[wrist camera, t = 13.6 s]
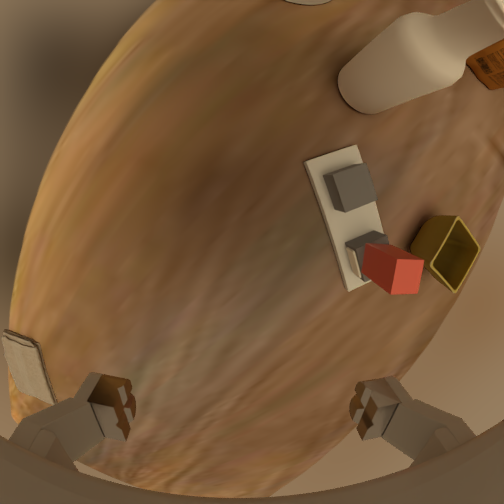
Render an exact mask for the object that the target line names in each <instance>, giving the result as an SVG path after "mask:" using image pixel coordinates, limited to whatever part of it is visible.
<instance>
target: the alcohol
mask: <svg viewBox="0 0 504 504" xmlns="http://www.w3.org/2000/svg"><path fill="white" fill-rule="evenodd" d="M502 39H504V0H472V1H469V2H467V3H464V4H462V5H460V6H458V7H455V8H453V9H451V10H449V11H447V12H444V13H442V14H440V15H436V16H433V15H429V14H425V13H419V12H413V13H410V14H407V15H404V16H401V17H399V18H398V19H397V20H395V21H394V22H393V23H392V24H391V25H390V26H388V27H387V28H386V29H385V30H384V31H383V32H381V33H380V34H379V35H378V36H377V37H376V38H375V39H373V40H372V41H371V42H370V43H369V44H368V45H367V46H366V47H365V48H363V49H362V50H361V51H360V52H359V53H358V54H357V55H356V56H355V57H354V58H353V59H351V60H350V61H349V62H348V63H347V64H346V65H345V66H344V67H343V68H342V69H341V71H340V72H339V75H338V87H339V90H340V93H341V95H342V96H343V98H344V99H345V101H346V102H347V103H348V104H349V105H350V106H351V107H352V108H354V109H355V110H357V111H359V112H361V113H365V114H377V113H380V112H382V111H384V110H387V109H389V108H392V107H394V106H397V105H399V104H402V103H405V102H407V101H410V100H412V99H415V98H418V97H420V96H423V95H426V94H429V93H431V92H434V91H437V90H440V89H443V88H446V87H449V86H451V85H452V84H454V83H455V82H456V81H457V80H458V79H459V78H461V76H462V75H463V72H464V69H465V64H466V59H467V58H468V57H469V56H471V55H473V54H475V53H477V52H478V51H480V50H482V49H484V48H486V47H488V46H490V45H492V44H494V43H496V42H498V41H500V40H502Z"/></svg>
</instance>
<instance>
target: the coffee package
mask: <svg viewBox="0 0 504 504" xmlns="http://www.w3.org/2000/svg"><path fill="white" fill-rule="evenodd" d="M466 64H467V65H468V66H470V67H471V69H472V70H473V72H474V74H475V75H476V77H477V78H478V79H479V80H480V81H481V82H482V83H484V84H485V85H486V86H487V87H488V88H489V89H490V90H494V89H499V88H504V39H502V40H500V41H498V42H496V43H494V44H492V45H490V46H488V47H486V48H484V49H482V50H480V51H478V52H477V53H475V54H473V55H471V56H469V57H468V58H467V59H466Z"/></svg>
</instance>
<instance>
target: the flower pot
mask: <svg viewBox="0 0 504 504" xmlns="http://www.w3.org/2000/svg"><path fill="white" fill-rule="evenodd" d="M410 250H411V253H412V255H415V256H417V257H419V258H421V259H423V260H424V265H423V266H424V267H425V268H426V269H427V270H428V271H429V272H430V273H431V274H432V275H433V277H434V278H435V279H437V280H438V281H439V282H440V283H441V284H443V285H444V286H445V287H447V288H448V289H449V290H450V291H452V292H453V293H456V292H457V290H458V289H459V287H460V286H461V284H462V282H463V281H464V279H465V277H466V275H467V274H468V272H469V270H470V268H471V267H472V265H473V263H474V261H475V259H476V257H477V255H478V254H479V251H480V246H479V244H478V243H477V241H476V240H475V238H474V237H473V235H472V234H471V232H470V231H469V229H468V228H467V227H466V225H465V224H464V222H463V221H462V219H461V218H460V217H459V216H435V217H433V218H431V219H429V220H428V221H427V222H425V223H424V224H423V226H422V227H421V229H420V231H419V233H418V234H417V236H416V237H415V239H414V241H413V242H412V244H411V246H410Z"/></svg>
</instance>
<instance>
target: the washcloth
mask: <svg viewBox="0 0 504 504" xmlns="http://www.w3.org/2000/svg"><path fill="white" fill-rule="evenodd" d="M3 334H4V335H3V336H4V337H1V338H2V343H3V347H4V356H5V358H6V360H7V363H8V365H9V369H10V372H11V374H12V376H13V379H14V381H15V384H16V386H17V388H18V390H19V391H20V392H22V393H25V394H27V395H30V396H33V397H36V398H38V399H40V400H42V401H44V402H47V403H49V404H52V405H55V404H56V403H57V399H56V397H55V395H54V391H53V388H52V385H51V382H50V379H49V376H48V373H47V371H46V366H45V364H44V360H43V355H42V352H41V346H40V343H36V342H35V341H34V340H32V339H30V338H28V337H25V336H22V335H19V334H17V333H15V332H12V331H10V330H6V329H4V331H3Z"/></svg>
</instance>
